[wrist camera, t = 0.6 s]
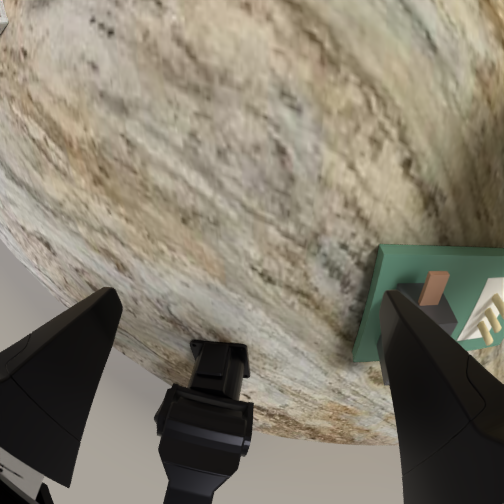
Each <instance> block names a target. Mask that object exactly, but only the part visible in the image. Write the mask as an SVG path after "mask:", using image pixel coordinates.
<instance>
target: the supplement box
mask: <svg viewBox="0 0 504 504" xmlns="http://www.w3.org/2000/svg"><path fill="white" fill-rule="evenodd" d="M7 24H8V19H7V16H6V12H5V8H4V4H3V0H0V34H1V33H2V31H3V30H4V28H5V27H6V25H7Z"/></svg>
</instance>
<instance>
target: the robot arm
mask: <svg viewBox="0 0 504 504" xmlns="http://www.w3.org/2000/svg"><path fill="white" fill-rule="evenodd" d="M122 311H123V306H122V303H121V301H120V299H119V296H118V294H117V292H116V290H115V289H114V288H112V287H103V288H102V289H100V290H98V291H97V292H95V293H93V294H92V295H90V296H88V297H87V298H85V299H84V300H82V301H80V302H79V303H77V304H75V305H74V306H72V307H71V308H69V309H67V310H66V311H64V312H63V313H61V314H60V315H58V316H56V317H55V318H53V319H52V320H50V321H49V322H47V323H46V324H44V325H42V326H41V327H39V328H38V329H36V330H35V331H33V332H32V334H29V335H27V336H26V337H24V338H23V339H21V340H20V341H18V342H16V343H15V344H13V345H12V346H10V347H8V348H7V349H5V350H3V351H2V352H0V504H54V503H53V500H52V498H51V495H50V493H49V489H48V486H47V485H46V484H45V483H43V482H42V481H43V478H44V476H46V477H48V478H50V479H52V480H53V481H56V482H57V483H59V484H61V485H63V486H65V487H67V488H69V487H70V484H71V479H72V475H73V471H74V466H75V463H76V458H77V455H78V450H79V447H80V443H81V442H80V441H81V439H82V435H83V432H84V428H85V425H86V421H87V418H88V415H89V411H90V408H91V405H92V402H93V399H94V396H95V393H96V390H97V387H98V384H99V381H100V378H101V376H102V373H103V370H104V367H105V364H106V362H107V359H108V356H109V354H110V351H111V348H112V345H113V342H114V339H115V335H116V331H117V328H118V324H119V321H120V318H121V314H122ZM379 319H380V327H381V335H382V343H383V353H384V360H385V365H386V370H387V375H388V380H389V385H390V390H391V396H392V401H393V407H394V413H395V419H396V426H397V433H398V441H399V449H400V458H401V468H402V482H403V497H404V504H504V384H502V383H501V382H500V381H499V380H498V379H497V378H495V377H494V376H493V375H492V374H491V373H490V372H488V371H487V370H486V369H485V368H484V367H483V366H482V365H481V364H480V363H479V362H478V361H477V360H476V359H475V358H473V357H472V356H471V355H470V354H469V353H468V352H467V351H466V350H465V349H464V348H463V347H462V346H461V345H460V344H459V343H458V342H456V341H455V340H454V339H453V338H452V337H451V336H450V335H449V334H448V333H447V332H446V331H444V330H443V329H442V328H441V327H440V326H439V325H438V324H437V323H436V322H434V321H433V320H432V319H431V318H430V317H429V316H428V315H426V314H425V313H424V312H423V311H422V310H421V309H420V308H418V307H417V306H416V305H415V304H414V303H413V302H411V301H410V300H409V299H408V298H407V297H406V296H404V295H403V294H402V293H401V292H400V291H398V290H386V291H385V292H384V294H383V298H382V302H381V306H380V310H379ZM190 347H191V350H192V352H193V355H194V358H195V361H196V362H195V365H194V368H193V372H192V375H191V378H190V381H189V385H188V388H186V387H182V386H179V385H178V384H175V383H173V386H172V388H170V389H168V390H167V392H166V395H165V398H164V401H163V402H162V404H161V406H160V408H159V409H158V411H157V413H156V414H155V417H154V420H155V422H156V424H157V435H158V436H161V440H160V444H159V448H158V451H159V454H160V457H161V460H162V463H163V466H164V469H165V472H166V474H167V477H168V480H169V482H168V486H167V490H166V495H165V498H164V502H163V504H212V499H213V495H214V491H216V490H217V489H218V488H219V487H220V486H221V485H222V484H223V483H224V482H225V481H226V480H227V479H228V478H230V477H231V476H232V475H233V474H234V473H235V471H237V469H238V466H239V462H240V457H241V456H243V457H245V455H246V454H247V452H248V449H249V446H250V442H251V436H252V425H253V406H254V403H252V402H243V401H239V397H240V392H241V386H242V380H243V378H249V377H250V367H249V359H248V350H247V346H246V345H244V344H234V343H221V342H210V341H199V340H191V342H190Z"/></svg>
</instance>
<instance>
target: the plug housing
mask: <svg viewBox="0 0 504 504" xmlns="http://www.w3.org/2000/svg"><path fill="white" fill-rule="evenodd" d="M449 276H450V275H449V273H448V271H428V274H427V277H426V280H425V283H397V287H396V290H398V291H400V292H401V293H402V294H403V295H404V296H406V297H407V298H408V299H409V300H410V301H411V302H413V303H414V304H415V305H416V306H417V307H418V308H420V309H421V310H422V311H423V312H424V313H425V314H426V315H428V316H429V317H430V318H431V319H432V320H433V321H434V322H436V323H437V324H438V325H439V326H440V327H441V328H442V329H443V330H444V331H446V332H447V333H448V334H449V335H450V336H451V335H452V333H453V331H454V329H455V328H456V326H457V324H458V321H457V319H456V317H455V315H454V313H453V311H452V309H451V307H450V305H449V303H448V301H447V299H446V297H445V295H444V293H443V291H444V289H445V286H446V284H447V281H448V278H449ZM376 346H377V351H378V355H379V360H380V365H381V371H382V376H383V381H384V385H389V380H388V375H387V370H386V365H385V360H384V353H383V343H382V335H381V334H380V337H379V340H378V342H377V345H376Z"/></svg>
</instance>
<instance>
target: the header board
mask: <svg viewBox="0 0 504 504" xmlns="http://www.w3.org/2000/svg"><path fill="white" fill-rule="evenodd" d="M428 271H448V273H449V275H450V276H449V278H448V281H447V284H446V286H445V289H444V291H443V293H444V295H445V297H446V299H447V301H448V303H449V305H450V307H451V309H452V311H453V313H454V315H455V317H456V319H457V321H458V324H457V326H456V328H455V329H454V331H453V333H452V335H451V337H452V338H453V339H454V340H455V341H456V342H458V343H459V344H460V345H461V346H462V347H463V348H464V349H465V350H466V351H470V350H476V349H481V348H486V347H491V346H496V345H499V344H500V343H501V341H502V340H503V338H504V248H487V247H459V246H428V245H393V244H379V249H378V254H377V259H376V264H375V268H374V273H373V277H372V282H371V286H370V290H369V294H368V298H367V302H366V306H365V309H364V313H363V317H362V320H361V324H360V327H359V331H358V334H357V338H356V341H355V344H354V347H353V351H352V354H353V362H370V361H380V360H379V355H378V351H377V346H376V345H377V342H378V340H379V337H380V334H381V327H380V319H379V310H380V306H381V302H382V298H383V294H384V292H385V291H386V290H396V287H397V283H425V280H426V277H427V274H428Z"/></svg>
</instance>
